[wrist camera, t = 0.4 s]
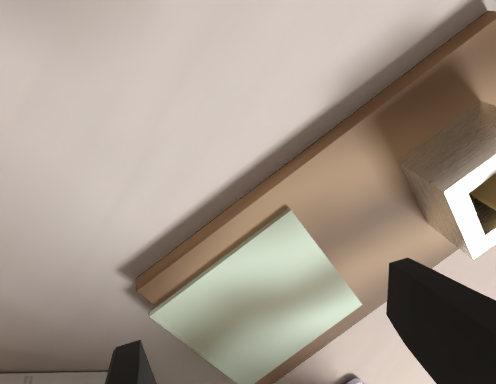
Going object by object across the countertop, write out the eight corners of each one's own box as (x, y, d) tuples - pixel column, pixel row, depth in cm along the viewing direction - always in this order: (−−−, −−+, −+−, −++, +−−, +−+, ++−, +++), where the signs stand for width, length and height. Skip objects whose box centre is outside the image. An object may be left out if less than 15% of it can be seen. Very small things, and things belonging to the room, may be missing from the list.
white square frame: (502, 170, 24) (558, 198, 21) (428, 224, 24) (473, 259, 21) (480, 100, 21) (541, 120, 18) (397, 162, 21) (444, 192, 18)
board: (531, 178, 26) (623, 221, 21) (252, 382, 27) (280, 466, 23) (488, 10, 20) (603, 20, 15) (128, 284, 21) (132, 371, 16)
